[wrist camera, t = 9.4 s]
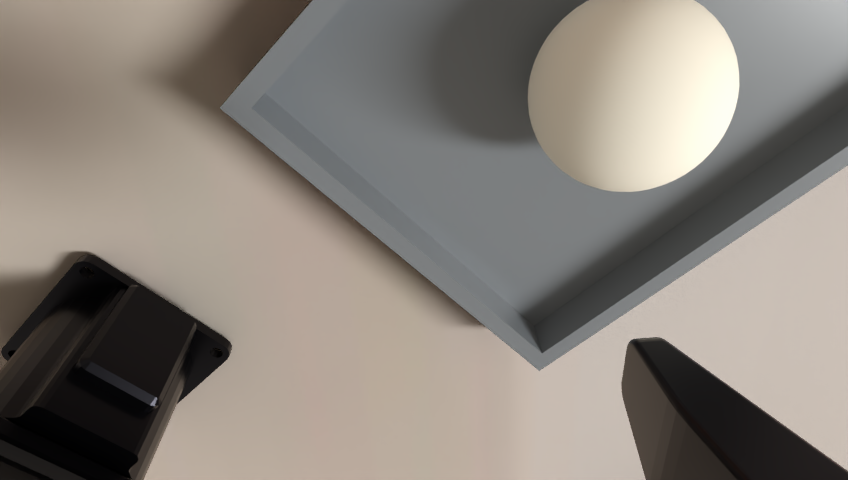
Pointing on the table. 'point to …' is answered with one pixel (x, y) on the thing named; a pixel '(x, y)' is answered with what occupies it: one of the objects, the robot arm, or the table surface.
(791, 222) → the table surface
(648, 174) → the ball
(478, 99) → the tray
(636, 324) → the table surface
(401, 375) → the table surface
